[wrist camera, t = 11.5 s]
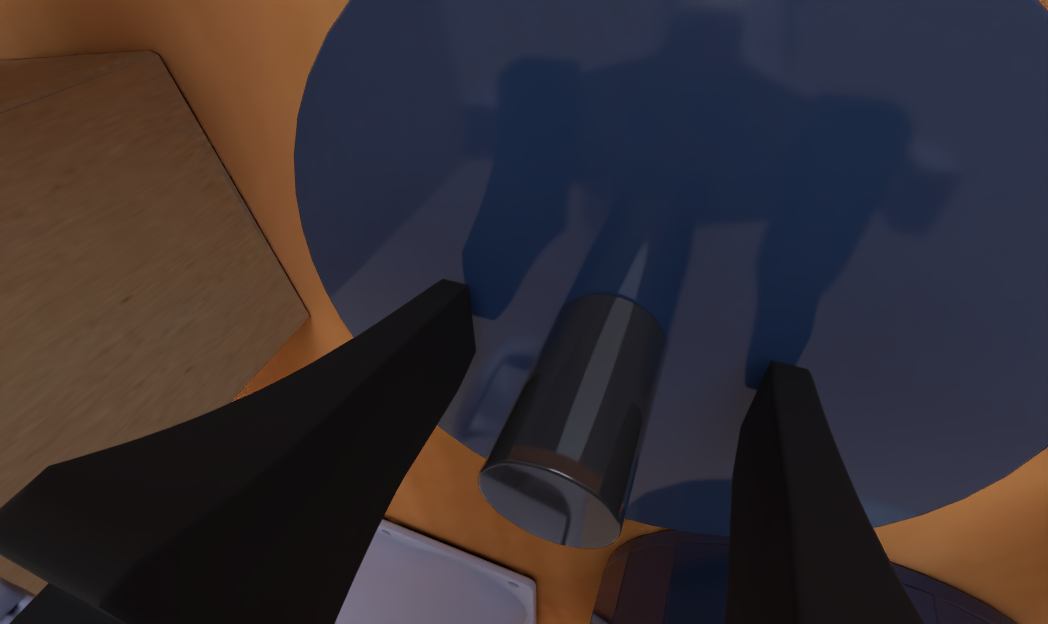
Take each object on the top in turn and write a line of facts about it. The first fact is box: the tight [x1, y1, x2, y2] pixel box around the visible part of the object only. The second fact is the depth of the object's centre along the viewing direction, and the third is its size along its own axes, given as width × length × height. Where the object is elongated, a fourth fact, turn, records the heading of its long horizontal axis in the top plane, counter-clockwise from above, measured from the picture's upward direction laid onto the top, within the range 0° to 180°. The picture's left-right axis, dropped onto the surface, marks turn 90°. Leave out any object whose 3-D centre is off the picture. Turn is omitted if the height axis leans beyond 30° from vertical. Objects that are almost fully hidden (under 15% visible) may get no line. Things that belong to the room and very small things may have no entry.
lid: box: [294, 0, 1048, 549], centre depth 10 cm, size 15×15×5 cm
